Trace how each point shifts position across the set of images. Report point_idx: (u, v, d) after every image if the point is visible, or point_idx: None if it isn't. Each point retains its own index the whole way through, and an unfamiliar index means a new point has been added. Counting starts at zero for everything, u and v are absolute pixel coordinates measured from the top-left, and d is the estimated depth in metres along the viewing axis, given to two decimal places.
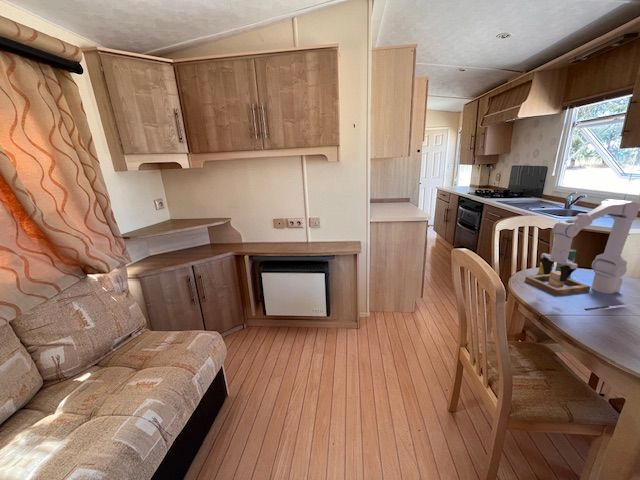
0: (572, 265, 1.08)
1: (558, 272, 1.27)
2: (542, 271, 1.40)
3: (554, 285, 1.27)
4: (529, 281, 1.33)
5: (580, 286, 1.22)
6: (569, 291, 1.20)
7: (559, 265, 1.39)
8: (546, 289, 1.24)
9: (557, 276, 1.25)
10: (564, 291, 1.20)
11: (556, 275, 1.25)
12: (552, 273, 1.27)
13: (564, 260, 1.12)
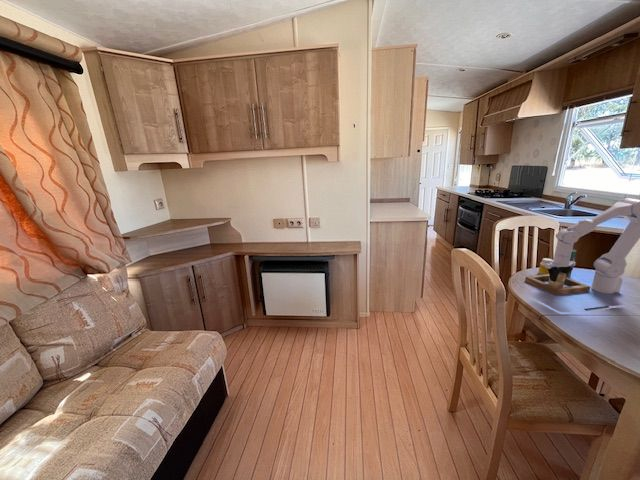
0: None
1: None
2: (542, 271, 1.40)
3: (554, 285, 1.27)
4: (529, 281, 1.33)
5: (580, 286, 1.22)
6: (569, 291, 1.20)
7: None
8: (546, 289, 1.24)
9: (557, 276, 1.25)
10: (564, 291, 1.20)
11: None
12: None
13: (554, 262, 1.25)
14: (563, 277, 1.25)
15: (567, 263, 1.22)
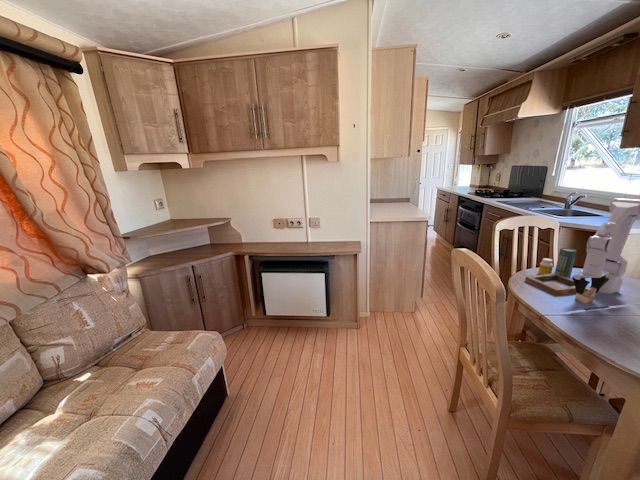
0: None
1: (587, 286, 1.13)
2: (542, 271, 1.40)
3: (582, 301, 1.13)
4: (529, 281, 1.33)
5: None
6: (569, 291, 1.20)
7: (559, 265, 1.39)
8: (546, 289, 1.24)
9: (586, 291, 1.12)
10: (564, 291, 1.20)
11: (585, 290, 1.12)
12: None
13: (585, 273, 1.11)
14: (593, 292, 1.12)
15: (600, 274, 1.08)
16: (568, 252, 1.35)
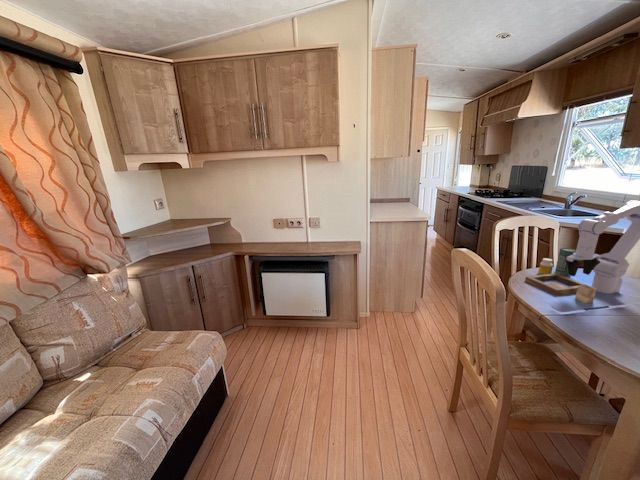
0: None
1: (587, 286, 1.13)
2: (542, 271, 1.40)
3: (582, 301, 1.13)
4: (529, 281, 1.33)
5: None
6: (569, 291, 1.20)
7: (559, 265, 1.39)
8: (546, 289, 1.24)
9: (586, 291, 1.12)
10: (564, 291, 1.20)
11: (585, 290, 1.12)
12: (580, 287, 1.14)
13: (577, 255, 1.16)
14: (593, 292, 1.12)
15: (591, 255, 1.13)
16: (568, 252, 1.35)
